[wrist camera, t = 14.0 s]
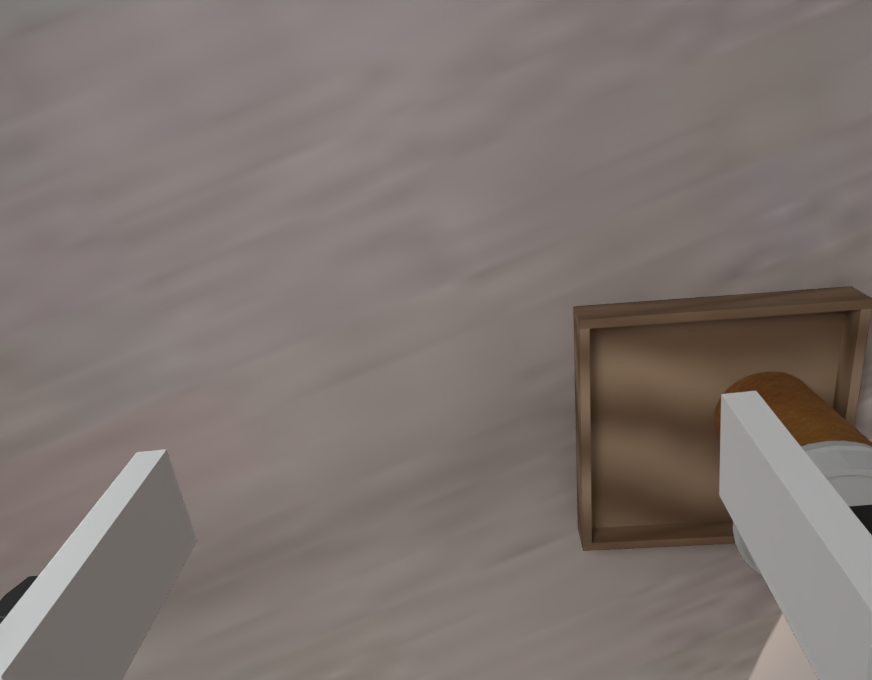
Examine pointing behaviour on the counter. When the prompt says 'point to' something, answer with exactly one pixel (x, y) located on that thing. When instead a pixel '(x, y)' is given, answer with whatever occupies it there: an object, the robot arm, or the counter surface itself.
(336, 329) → the counter surface
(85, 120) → the counter surface
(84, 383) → the counter surface
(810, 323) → the box
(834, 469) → the disposable coffee cup
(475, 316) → the counter surface
